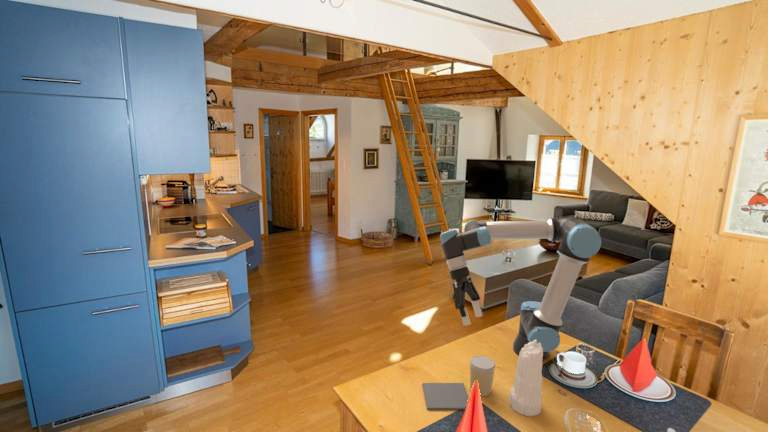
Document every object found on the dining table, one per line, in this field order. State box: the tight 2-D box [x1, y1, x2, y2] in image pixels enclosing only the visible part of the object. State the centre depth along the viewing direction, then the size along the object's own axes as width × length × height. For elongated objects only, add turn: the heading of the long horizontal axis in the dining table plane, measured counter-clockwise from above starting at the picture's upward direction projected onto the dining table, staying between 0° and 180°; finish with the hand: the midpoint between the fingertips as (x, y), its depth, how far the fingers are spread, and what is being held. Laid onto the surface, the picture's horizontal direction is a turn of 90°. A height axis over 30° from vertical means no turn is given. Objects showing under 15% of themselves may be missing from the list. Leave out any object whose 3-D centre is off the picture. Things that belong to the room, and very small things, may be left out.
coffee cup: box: [469, 354, 496, 397], centre depth 151 cm, size 9×9×12 cm
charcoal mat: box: [422, 382, 469, 411], centre depth 147 cm, size 16×14×1 cm
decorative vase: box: [508, 340, 543, 417], centre depth 141 cm, size 11×11×25 cm
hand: (473, 320), depth 156 cm, fingers open, 13 cm apart
